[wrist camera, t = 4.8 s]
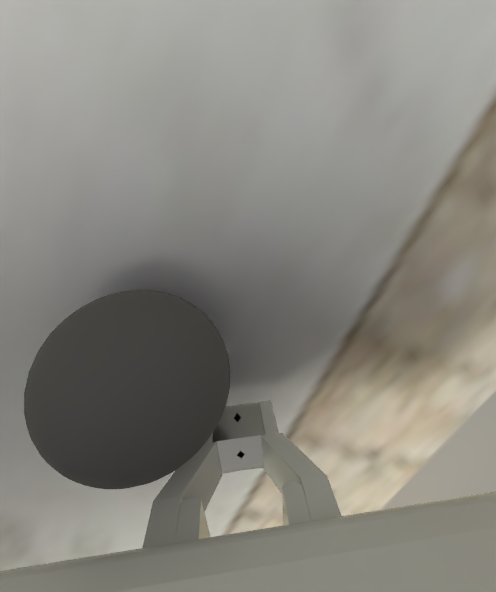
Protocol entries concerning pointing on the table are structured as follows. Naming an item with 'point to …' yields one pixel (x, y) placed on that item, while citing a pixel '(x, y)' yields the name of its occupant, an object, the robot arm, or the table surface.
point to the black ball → (127, 389)
